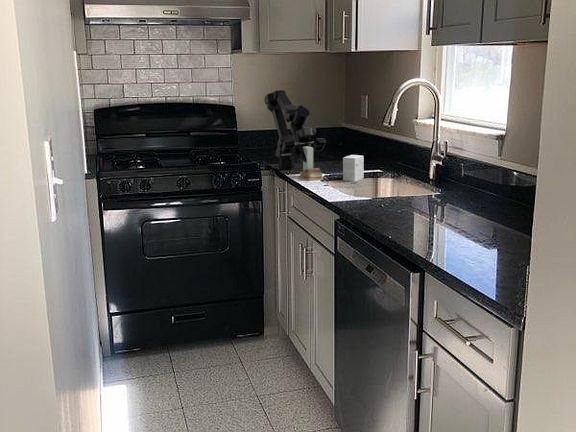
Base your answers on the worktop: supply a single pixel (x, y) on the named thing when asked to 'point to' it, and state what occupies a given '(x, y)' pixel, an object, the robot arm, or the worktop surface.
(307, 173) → the pine rack
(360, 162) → the small box
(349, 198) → the worktop surface
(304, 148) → the sage panel
